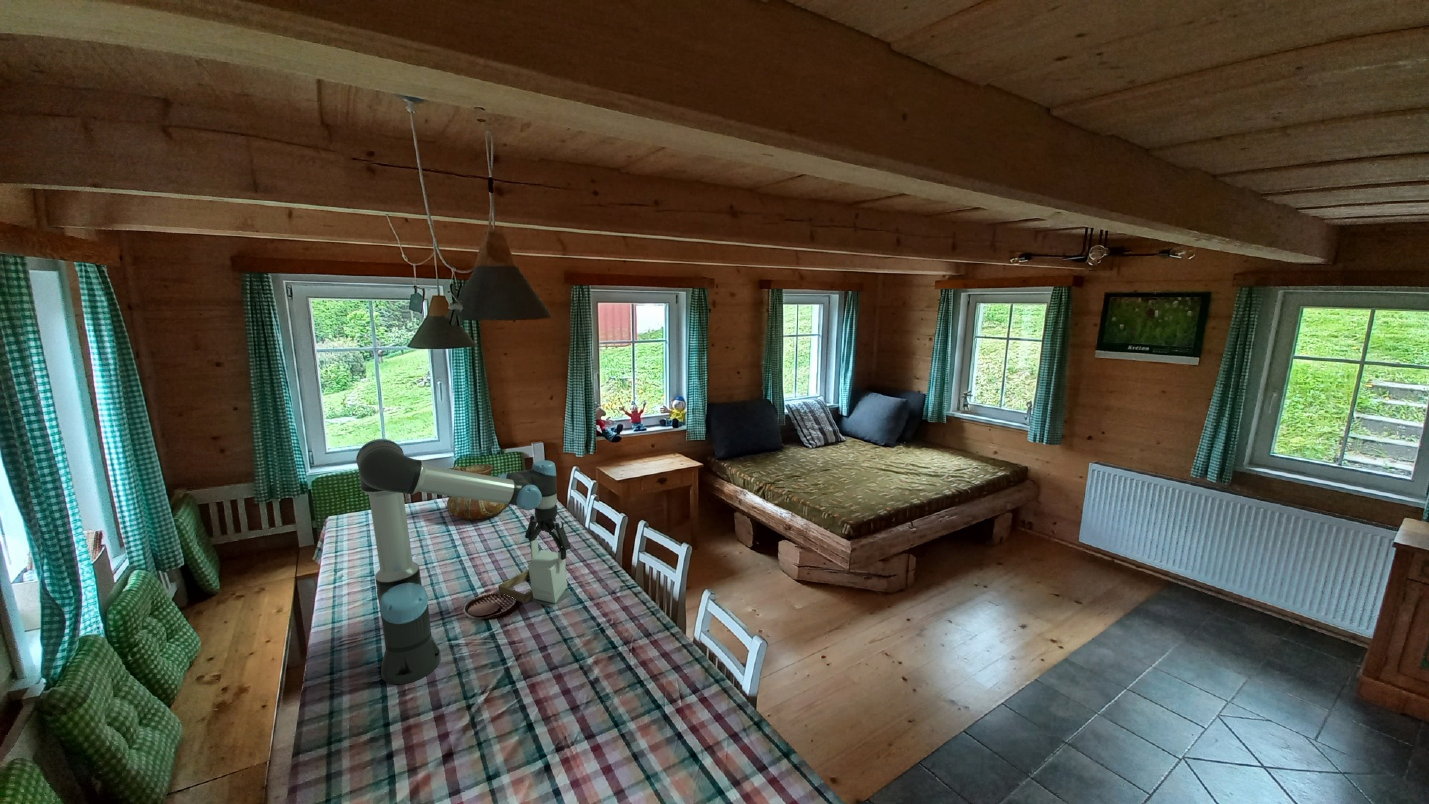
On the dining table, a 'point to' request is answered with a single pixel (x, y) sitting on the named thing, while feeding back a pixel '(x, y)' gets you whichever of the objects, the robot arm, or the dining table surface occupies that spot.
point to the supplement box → (547, 577)
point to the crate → (506, 590)
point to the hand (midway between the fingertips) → (548, 562)
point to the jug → (471, 507)
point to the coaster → (550, 604)
